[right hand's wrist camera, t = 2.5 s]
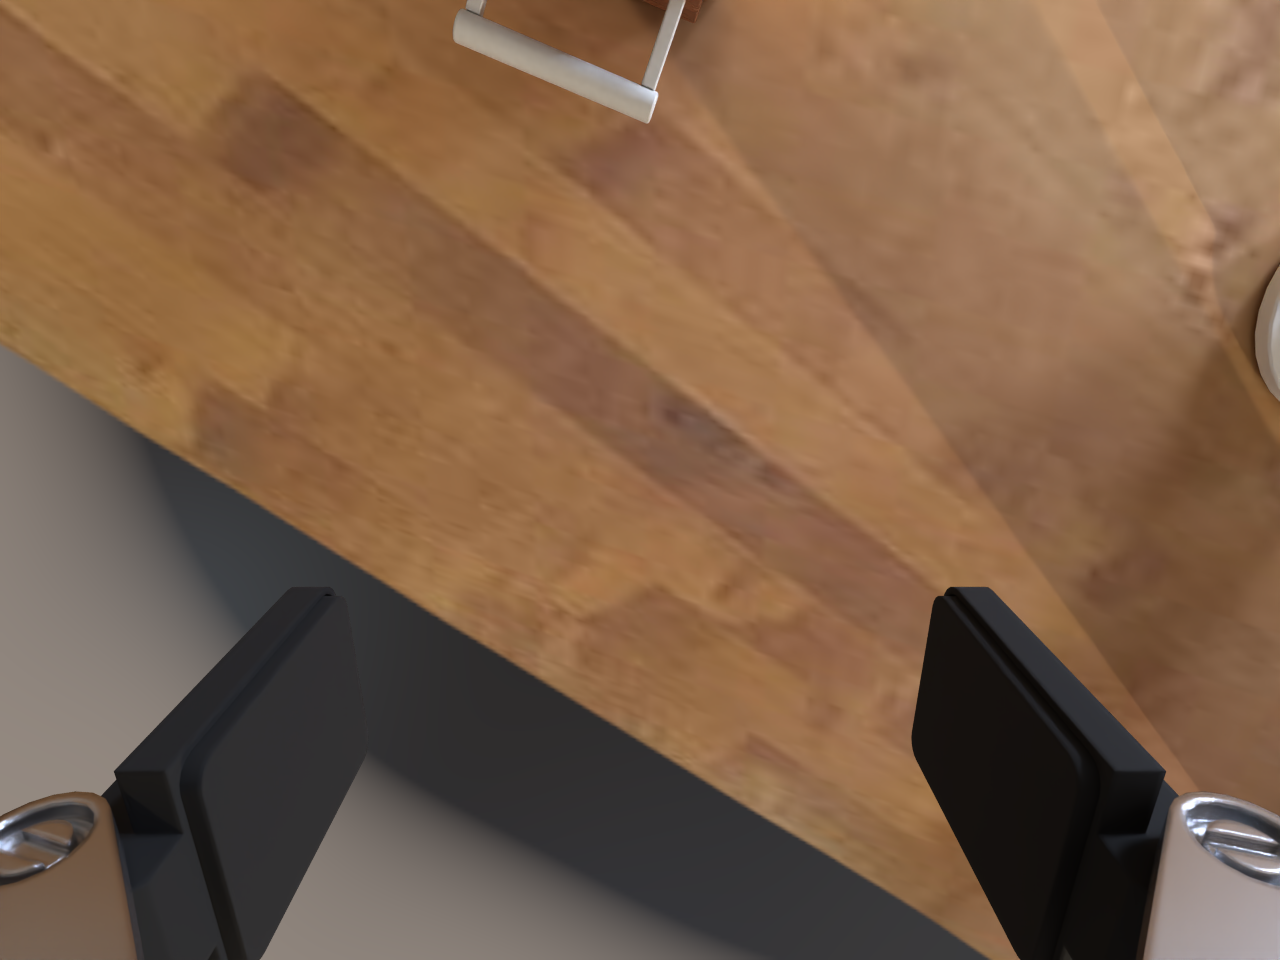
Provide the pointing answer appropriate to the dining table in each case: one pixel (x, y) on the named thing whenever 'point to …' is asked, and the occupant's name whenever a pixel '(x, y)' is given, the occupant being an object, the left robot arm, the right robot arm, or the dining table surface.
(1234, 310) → the dining table surface
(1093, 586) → the dining table surface
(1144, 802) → the right robot arm
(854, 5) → the dining table surface
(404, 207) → the dining table surface
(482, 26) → the drawer
